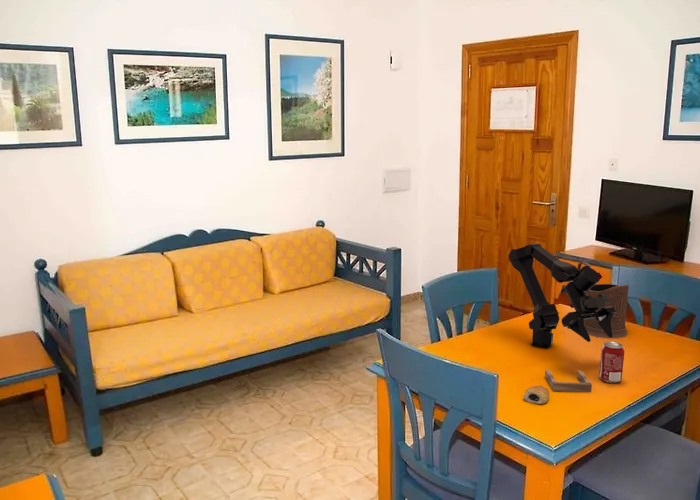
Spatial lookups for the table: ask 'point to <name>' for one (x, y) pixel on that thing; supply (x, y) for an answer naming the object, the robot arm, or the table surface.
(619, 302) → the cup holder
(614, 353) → the soda can
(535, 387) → the pastry
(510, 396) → the table surface
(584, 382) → the frame
